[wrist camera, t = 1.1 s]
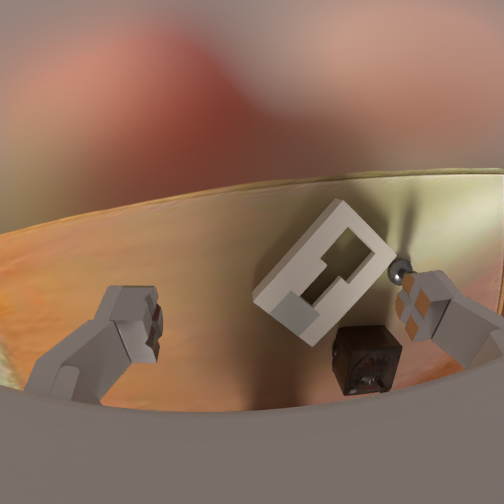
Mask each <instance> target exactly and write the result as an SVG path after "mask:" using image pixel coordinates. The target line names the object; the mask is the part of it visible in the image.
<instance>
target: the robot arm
mask: <svg viewBox="0 0 504 504" xmlns="http://www.w3.org/2000/svg"><path fill="white" fill-rule="evenodd" d="M401 284H402V287H403V289H402V290H401V291H400V292H399V293H398V295H397V298H396V301H395V309H396V313H397V316H398V317H399V319H400V320H401V321H402V322H404V323H406V326H405V330H406V332H407V334H408V335H409V337H410V339H411V341H412V342H417V341H423V340H429V339H432V341H433V342H434V343H435V344H437V345H438V346H439V347H440V348H441V349H443V350H444V351H445V352H446V353H447V354H449V355H450V356H451V357H452V358H453V359H455V360H456V361H457V362H458V363H459V364H461V365H462V366H463V367H464V368H465V369H466V370H464V371H461V372H458V373H455V374H452V375H449V376H446V377H442V378H439V379H436V380H432V381H429V382H425V383H421V384H418V385H414V386H410V387H406V388H402V389H398V390H394V391H389V392H385V393H380V394H376V395H371V396H366V397H361V398H355V399H350V400H344V401H338V402H331V403H324V404H317V405H310V406H301V407H292V408H282V409H270V410H255V411H233V412H178V411H156V410H141V409H129V408H119V407H110V406H103V405H102V404H101V402H100V399H101V398H102V397H103V396H104V395H105V394H106V393H107V391H108V390H109V389H110V388H111V387H112V386H113V384H114V383H115V382H116V381H117V380H118V379H119V378H120V376H121V375H122V374H123V373H124V372H125V371H126V369H127V368H128V367H129V366H130V365H131V363H157V359H158V354H159V348H160V346H159V342H158V339H159V338H160V337H161V336H162V332H163V315H162V310H161V307H160V306H159V305H158V304H157V300H158V293H157V289H156V287H155V286H126V285H125V286H109V287H108V288H107V290H106V292H105V294H104V296H103V299H102V301H101V303H100V305H99V308H98V310H97V312H96V315H95V317H94V319H93V320H89V321H87V322H86V323H85V324H83V325H82V326H81V327H79V328H78V329H77V330H75V331H74V332H73V333H71V334H70V335H69V336H67V337H66V338H65V339H63V340H62V341H61V342H59V343H58V344H57V345H56V346H54V347H53V348H52V349H50V350H49V351H48V352H47V353H45V354H44V355H43V356H41V357H40V358H39V359H38V360H37V361H36V363H35V365H34V368H33V370H32V372H31V374H30V377H29V379H28V382H27V384H26V386H25V389H24V391H21V390H17V389H14V388H10V387H6V386H3V385H0V504H504V317H502V316H501V315H499V314H497V313H495V312H494V311H492V310H490V309H488V308H487V307H485V306H483V305H481V304H480V303H478V302H476V301H474V300H472V299H471V298H469V297H464V296H463V295H462V293H461V292H460V291H459V290H458V289H457V287H456V286H455V285H454V284H453V282H452V281H451V280H450V279H449V278H448V276H447V275H446V274H445V273H444V272H443V271H441V270H436V271H429V272H422V273H410V274H406V275H405V276H404V277H403V280H402V283H401Z"/></svg>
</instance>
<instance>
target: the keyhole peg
mask: <svg viewBox="0 0 504 504" xmlns="http://www.w3.org/2000/svg"><path fill="white" fill-rule="evenodd" d="M410 273H417V272H416V271H413V269H412V266H411V264H410V263H409V262H408V261H406V260H404V259H396V260H394V261H393V262H392V263H391V264H390V266H389V268H388V277H389V279H390V281H392V282H393V283H394V284H396V285H402V284H401V283H402V280H403V277H404V276H405V275H406V274H410Z"/></svg>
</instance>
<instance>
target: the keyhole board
mask: <svg viewBox="0 0 504 504" xmlns="http://www.w3.org/2000/svg"><path fill="white" fill-rule="evenodd" d="M347 227H348V228H349V229H350V230H351V231H352V232H353V233H354V234H355V235H356V236H357V237H358V238H359V239H360V240H361V241H362V242H363V243H364V244H365V245H366V246H367V247H368V248H369V249H370V250H371V252H370V253H369V255H368V256H367V257H366V258H365V259H364V260H363V262H362V263H361V264H360V265H359V266H358V267H357V268H356V270H355V271H354V272H353V273H352V274H351V275H350V276H349V277H348V278H347V280H346V281H345V280H343V279H342V278H341V277H340V276H338V277H337V278H336V279H335V280H334V281H333V283H332V284H331V285H330V286H329V287H328V288H327V289H326V290H325V291H324V292H323V293H322V294H321V296H320V297H319V298H318V299H317V300H316V301H315V302H314V303H313V304H312V305H311V304H309V303H308V302H307V301H306V300H305V299H303V298H302V297H301V296H300V295H301V294H302V293H303V292H304V291H305V290H306V289H307V288H308V286H309V285H310V284H311V283H312V282H313V281H314V280H315V279H316V278H317V277H318V276H319V274H320V273H321V272H322V271H323V270H324V269H325V268H326V267H327V266H328V265H327V264H326V263H325V262H324V261H322V260H321V259H320V258H321V257H322V256H323V255H324V253H325V252H326V251H327V250H328V249H329V248H330V247H331V245H332V244H333V243H334V242H335V241H336V240H337V239H338V237H339V236H340V235H341V234H342V233H343V232H344V231H345V229H346V228H347ZM396 256H397V255H396V254H395V253H394V252H393V251H392V250H391V248H390V247H389V246H388V245H387V244H386V243H385V242H384V241H383V240H382V239H381V238H380V237H379V236H378V235H377V234H376V233H375V231H374V230H373V229H372V228H371V227H370V226H369V225H368V224H367V223H366V222H365V221H364V220H363V219H362V218H361V217H360V216H359V215H358V214H357V213H356V212H355V211H354V210H353V209H352V208H351V207H350V206H349V205H348V204H347V203H346V202H345V201H344V200H340V199H336V198H334V200H333V201H332V202H331V203H330V204H329V205H328V206H327V208H326V209H325V210H324V211H323V212H322V213H321V215H320V216H319V217H318V218H317V219H316V220H315V221H314V223H313V224H312V225H311V226H310V227H309V228H308V229H307V231H306V232H305V233H304V234H303V235H302V236H301V237H300V238H299V240H298V241H297V242H296V243H295V244H294V245H293V246H292V248H291V249H290V250H289V251H288V252H287V253H286V254H285V255H284V257H283V258H282V259H281V260H280V261H279V262H278V263H277V264H276V265H275V267H274V268H273V269H272V270H271V271H270V272H269V273H268V274H267V276H266V277H265V278H264V279H263V280H262V281H261V282H260V283H259V284H258V285H257V287H256V288H255V289H254V290H253V291H252V295H253V302H254V303H255V304H256V305H258V306H259V307H260V308H262V309H263V310H264V311H265V312H267V313H268V314H269V315H271V316H272V317H273V318H275V319H276V320H277V321H279V322H280V323H281V324H282V325H284V326H285V327H286V328H288V329H289V330H290V331H292V332H293V333H294V334H296V335H297V336H298V337H300V338H301V339H302V340H304V341H305V342H306V343H308V344H309V345H310V346H312V347H313V346H314V345H315V344H316V343H317V342H318V341H319V340H320V339H321V338H322V337H323V336H324V335H325V334H326V333H327V332H328V331H329V330H330V329H331V328H332V327H333V326H334V325H335V324H336V323H337V322H338V321H339V320H340V319H341V318H342V317H343V316H344V315H345V314H346V312H347V311H348V310H349V309H350V308H351V307H352V306H353V305H354V304H355V303H356V302H357V301H358V300H359V299H360V297H361V296H362V295H363V294H364V293H365V292H366V291H367V290H368V289H369V287H370V286H371V285H372V284H373V283H374V282H375V281H376V280H377V278H378V277H379V276H380V275H381V274H382V273H383V272H384V270H385V269H386V268H387V267H388V266H389V264H390V263H391V262H392V261H393V260H394V259H395V257H396Z"/></svg>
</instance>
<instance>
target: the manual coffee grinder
mask: <svg viewBox="0 0 504 504" xmlns="http://www.w3.org/2000/svg"><path fill="white" fill-rule="evenodd" d="M402 348H403V347H402V346H401V345H400V343H399V342H398V341H397V340H396V339H395V338H394V336H393V335H392V334H391V333H390V332H389V331H388V330H387V328H386V327H385V326H381V325H373V326H356V327H343V328H340V329H338V332H337V337H336V341H335V346H334V347H333V351H332V356H333V363H332V366H333V372H334V374H335V376H336V379H337V381H338V383H339V385H340V388H341V390H342V392H343V395H344V396H349V395H358V394H367V393H374V392H380V393H385V392H389V390H390V389H391V387H392V384H393V380H394V377H395V373H396V370H397V366H398V363H399V359H400V355H401V352H402Z"/></svg>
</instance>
